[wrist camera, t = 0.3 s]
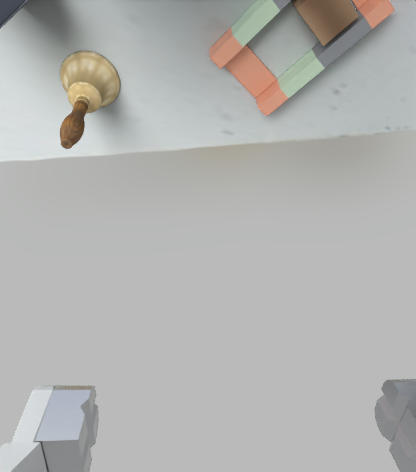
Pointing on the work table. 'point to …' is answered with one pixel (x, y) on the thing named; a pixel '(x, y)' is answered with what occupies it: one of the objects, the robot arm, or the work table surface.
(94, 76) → the hand bell
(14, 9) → the small box
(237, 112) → the work table surface
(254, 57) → the multicolored rectangular frame
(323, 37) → the walnut block
